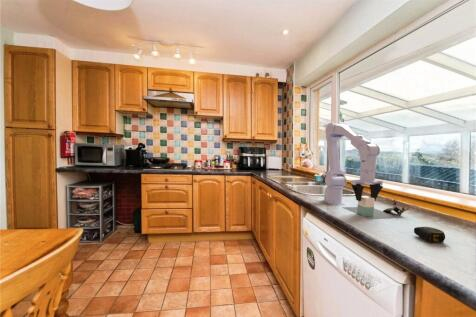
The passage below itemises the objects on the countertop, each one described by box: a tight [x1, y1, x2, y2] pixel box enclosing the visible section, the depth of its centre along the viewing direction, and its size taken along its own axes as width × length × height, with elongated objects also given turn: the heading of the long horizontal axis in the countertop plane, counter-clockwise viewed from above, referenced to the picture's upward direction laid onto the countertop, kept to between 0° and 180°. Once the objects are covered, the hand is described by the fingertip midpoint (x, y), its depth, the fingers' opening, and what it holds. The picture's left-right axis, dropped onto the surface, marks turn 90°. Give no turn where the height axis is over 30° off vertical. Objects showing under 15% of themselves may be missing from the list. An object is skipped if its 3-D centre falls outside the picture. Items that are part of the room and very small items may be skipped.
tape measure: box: [413, 226, 446, 243], centre depth 71 cm, size 7×7×4 cm
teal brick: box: [356, 204, 375, 217], centre depth 97 cm, size 4×4×4 cm
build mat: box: [341, 206, 401, 220], centre depth 101 cm, size 18×16×1 cm
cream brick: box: [357, 195, 376, 208], centre depth 97 cm, size 4×4×4 cm
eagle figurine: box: [383, 198, 411, 217], centre depth 100 cm, size 8×8×10 cm
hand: (365, 200), depth 97 cm, fingers open, 7 cm apart
